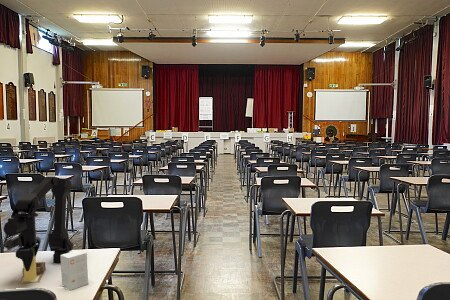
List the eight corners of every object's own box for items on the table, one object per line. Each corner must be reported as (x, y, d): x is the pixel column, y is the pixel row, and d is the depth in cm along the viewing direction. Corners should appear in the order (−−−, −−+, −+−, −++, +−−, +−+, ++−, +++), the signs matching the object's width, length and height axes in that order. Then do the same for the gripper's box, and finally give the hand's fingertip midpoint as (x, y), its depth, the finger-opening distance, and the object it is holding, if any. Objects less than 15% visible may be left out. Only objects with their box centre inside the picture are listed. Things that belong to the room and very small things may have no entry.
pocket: (45, 268, 182) (45, 261, 181) (42, 274, 174) (42, 267, 174) (26, 270, 179) (26, 263, 179) (22, 276, 172) (22, 269, 172)
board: (46, 270, 182) (45, 267, 182) (39, 284, 165) (39, 281, 165) (26, 272, 180) (26, 269, 180) (17, 287, 163) (17, 283, 163)
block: (36, 276, 171) (35, 255, 170) (34, 280, 167) (33, 258, 166) (26, 277, 169) (24, 256, 169) (24, 281, 166) (22, 259, 165)
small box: (80, 280, 169) (78, 249, 168) (88, 284, 165) (87, 252, 164) (61, 286, 163) (59, 254, 162) (69, 290, 159) (68, 257, 158)
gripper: (11, 225, 174) (13, 262, 175) (-1, 237, 156) (2, 277, 157) (39, 223, 177) (41, 259, 178) (31, 234, 159) (33, 274, 160)
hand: (29, 267), depth 168 cm, fingers open, 9 cm apart
